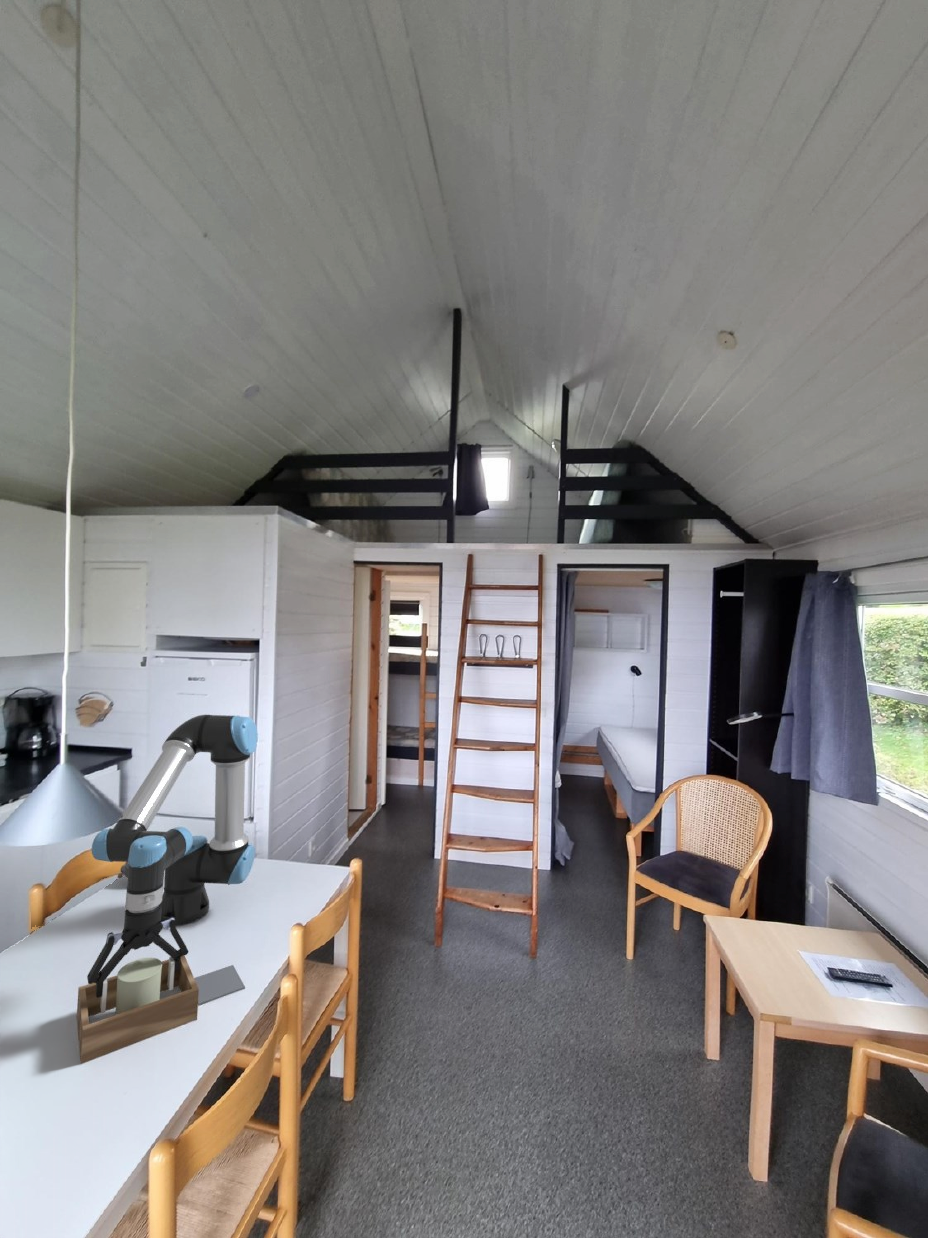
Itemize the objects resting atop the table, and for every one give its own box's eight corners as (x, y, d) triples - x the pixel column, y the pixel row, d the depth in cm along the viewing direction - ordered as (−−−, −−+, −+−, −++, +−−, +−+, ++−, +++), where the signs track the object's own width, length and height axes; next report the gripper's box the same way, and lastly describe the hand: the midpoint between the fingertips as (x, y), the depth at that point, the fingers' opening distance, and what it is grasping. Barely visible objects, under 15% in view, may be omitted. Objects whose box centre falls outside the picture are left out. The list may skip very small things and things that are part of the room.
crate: (76, 1017, 124) (78, 987, 124) (182, 981, 138) (184, 954, 138) (80, 1064, 111) (82, 1030, 111) (197, 1019, 125) (198, 989, 125)
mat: (188, 981, 138) (188, 980, 138) (232, 966, 145) (233, 965, 145) (198, 1005, 130) (198, 1004, 130) (244, 988, 137) (245, 987, 137)
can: (153, 999, 131) (156, 950, 131) (164, 1020, 125) (167, 968, 125) (109, 1017, 125) (112, 965, 125) (118, 1040, 118) (122, 985, 118)
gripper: (80, 929, 115) (72, 1029, 114) (204, 898, 130) (199, 986, 129) (78, 914, 120) (71, 1009, 120) (197, 886, 136) (192, 970, 135)
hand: (137, 998), depth 124 cm, fingers open, 13 cm apart
